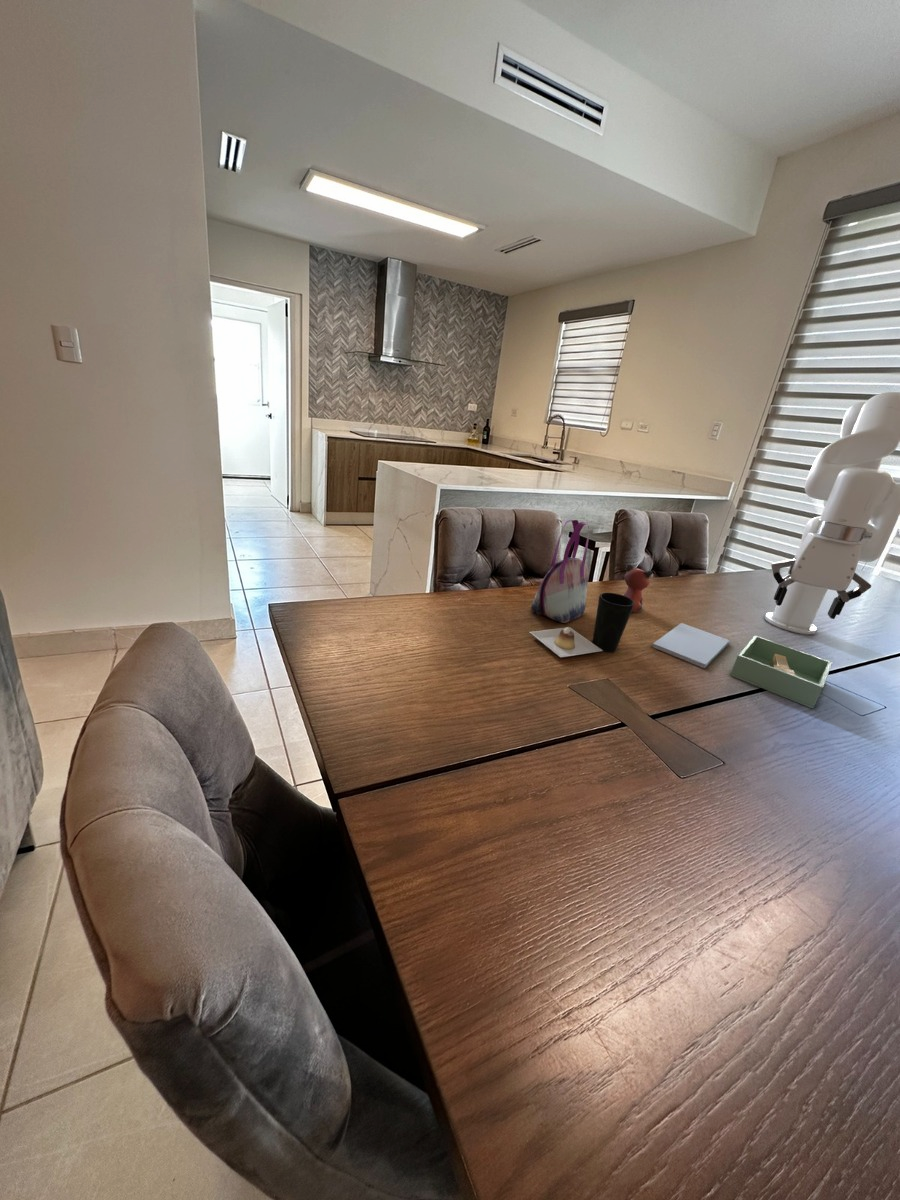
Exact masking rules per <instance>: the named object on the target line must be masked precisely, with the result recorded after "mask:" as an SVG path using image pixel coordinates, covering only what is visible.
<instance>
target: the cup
mask: <svg viewBox="0 0 900 1200" xmlns="http://www.w3.org/2000/svg"><path fill="white" fill-rule="evenodd" d="M634 604H635V603H634V601H633V600H632V599H630V598H628V597H626V596H624V594H620V593H615V592H602V593H600V594H599V596H598V602H597V609H596V616H595V621H594V628H593V633H592V634H593V635H592V643H593V644H594V645H596V646H597V647H599V648H600V649H602V650H603V651H602V652H607V653H614V652H616V651H617V649H618V647H619V644H620V642H621V639H622V636H623V634H624V633H625V629H626V627H627V624H628V622H629V619H630V617H631V614H632V613H633V612H632V609H633V607H634Z"/></svg>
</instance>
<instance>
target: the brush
mask: <svg viewBox="0 0 900 1200" xmlns="http://www.w3.org/2000/svg"><path fill="white" fill-rule="evenodd" d="M770 666H771V667H774V668H776V669H779V670H782V671H784V672H787V673H790V674H792V675H795V672H794V670H791V669H789V666H788V662H787V659H786V656H782V655H778V654H774V656H773V659H772V661H771V663H770ZM795 676H796V675H795Z"/></svg>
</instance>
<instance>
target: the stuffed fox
mask: <svg viewBox="0 0 900 1200" xmlns="http://www.w3.org/2000/svg"><path fill="white" fill-rule="evenodd" d="M625 566H626V567H625V569H626V573H625V574H624V582H625V584H626V586H627V589H626V591H625V593H624V594H623V596H626V597H628V598H630V599H632V600H633V601H634V603H635V604H634V607H633V609H632V612H631V613H638V612H640V611H641V610H642V609H643V599H644V598H643V590H645V589H646V588H648V587H649V585H650V583H651V582H650V581H651V580H650V577H651V576H652V574H653V573H654V572H653V571H652V570H643V569H640V568H636V567H634V566H633V565H632V564H631V563H627V564H626V565H625Z"/></svg>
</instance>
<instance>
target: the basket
mask: <svg viewBox="0 0 900 1200" xmlns="http://www.w3.org/2000/svg"><path fill="white" fill-rule="evenodd" d="M774 654H778V655H782V656H786V659H787V662H788V666H789V669H791V670H794V672H795V675H796V676H795V675H792V674H790V673H787V672H784V671H782V670H779V669H776V668H774V667H771V666H770V663H771V661H772V659H773V656H774ZM832 665H833V661H831V660H827V659H824V658H821V657H818V656H816V655H813V654H811V653H807V652H805V651H802V650H799V649H797V648H793V647H790V646H788V645H784V644H781V643H778V642H776V641H773V640H770V639H767V638H764V637H761V636H758V635H754V636H753V637H752V638H751V639H750V640H749V642H748V643H747V644H746V645H745V646H744V647H743V649H742V650H741V651H740V652H738V654H737V656H736V658H735V661H734V664H733V666H732V669H731V671H730V674H729V676H731V677H733V678H736V679H738V680H741V681H743V682H746V683H748V684H751V685H753V686H756V687H758V688H760V689H763V690H766V691H767V692H770V693H773V694H775V695H778V696H780V697H783V698H785V699H788V700H790V701H793V702H795V703H797V704H800V705H803V706H805V707H806V708H810V709H814V707H815V705H816V703H817V701H818V699H819V698H820V696H821V694H822V691H823V689H824V687H825V684H826V681H827V679H828V676H829V673H830V671H831V669H832Z"/></svg>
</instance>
